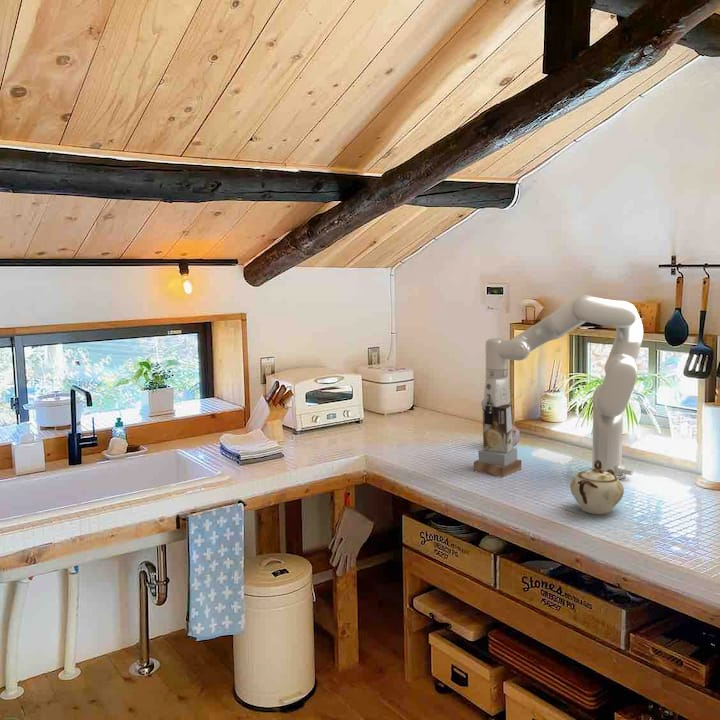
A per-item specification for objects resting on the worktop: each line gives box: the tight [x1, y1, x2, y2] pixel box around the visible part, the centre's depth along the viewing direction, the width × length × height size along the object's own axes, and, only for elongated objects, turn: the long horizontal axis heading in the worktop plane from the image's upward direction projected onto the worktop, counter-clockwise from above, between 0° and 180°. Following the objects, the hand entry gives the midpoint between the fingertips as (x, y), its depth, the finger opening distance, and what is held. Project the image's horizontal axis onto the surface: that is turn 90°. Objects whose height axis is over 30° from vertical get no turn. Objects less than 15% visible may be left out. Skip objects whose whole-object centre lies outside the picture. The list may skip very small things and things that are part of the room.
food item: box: [512, 424, 521, 447], centre depth 285 cm, size 14×8×10 cm, turn 138°
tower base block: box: [473, 459, 522, 478], centre depth 253 cm, size 12×12×4 cm
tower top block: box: [478, 447, 518, 466], centre depth 252 cm, size 10×10×4 cm
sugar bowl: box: [569, 460, 625, 515], centre depth 209 cm, size 20×15×15 cm
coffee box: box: [482, 404, 514, 453], centre depth 251 cm, size 9×6×16 cm
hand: (496, 421), depth 250 cm, fingers open, 9 cm apart
